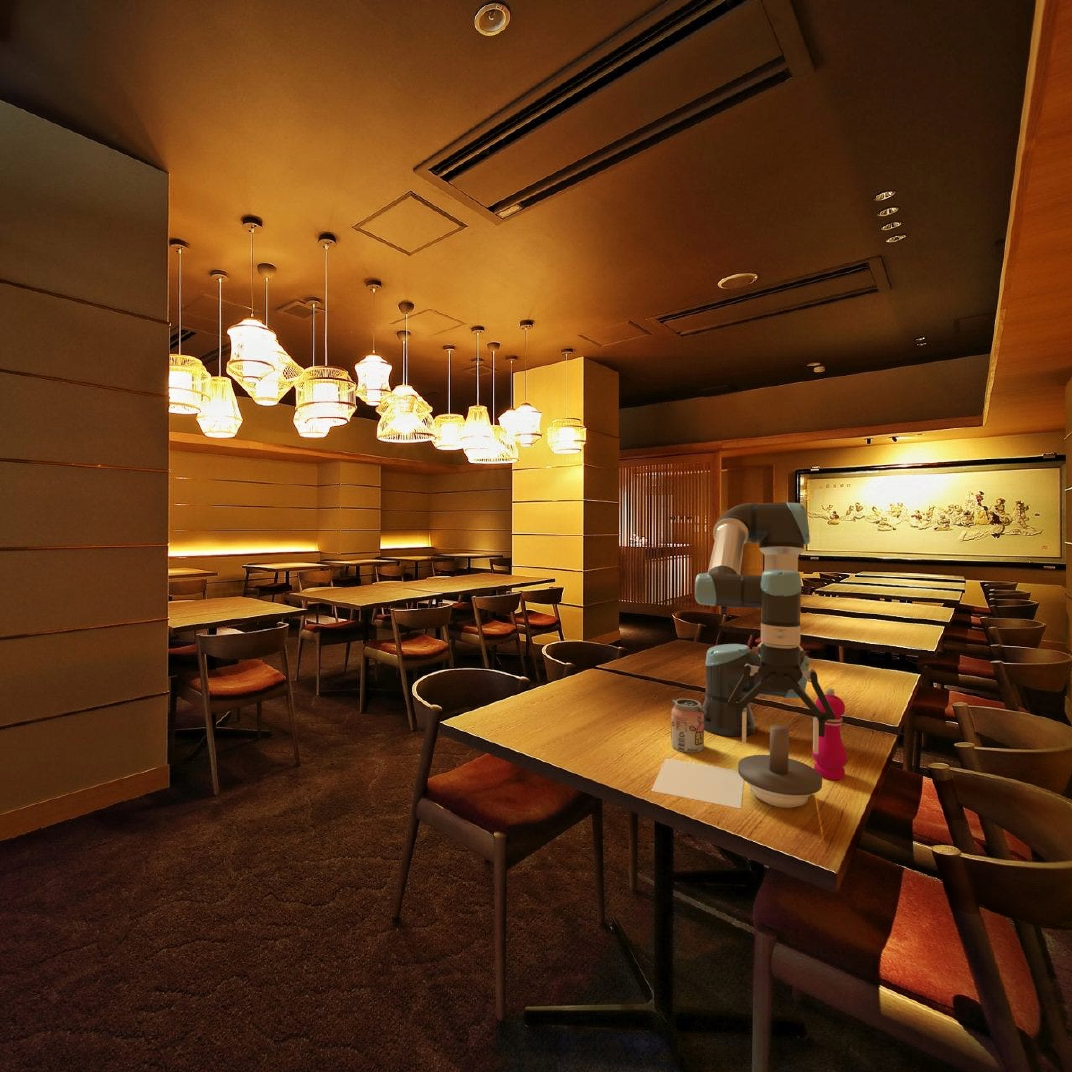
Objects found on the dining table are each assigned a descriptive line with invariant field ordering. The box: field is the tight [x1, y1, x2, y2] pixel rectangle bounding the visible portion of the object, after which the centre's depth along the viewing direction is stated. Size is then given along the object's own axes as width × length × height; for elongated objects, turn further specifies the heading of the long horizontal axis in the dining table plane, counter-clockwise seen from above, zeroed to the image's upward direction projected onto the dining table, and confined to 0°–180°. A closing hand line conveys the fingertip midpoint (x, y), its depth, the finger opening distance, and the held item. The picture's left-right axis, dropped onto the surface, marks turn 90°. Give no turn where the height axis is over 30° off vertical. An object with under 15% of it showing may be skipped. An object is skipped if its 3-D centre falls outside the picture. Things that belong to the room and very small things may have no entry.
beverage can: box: [670, 698, 707, 754], centre depth 139 cm, size 9×8×12 cm
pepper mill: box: [811, 687, 849, 781], centre depth 125 cm, size 7×7×20 cm
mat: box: [650, 758, 745, 810], centre depth 120 cm, size 18×18×1 cm
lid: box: [737, 724, 823, 795], centre depth 112 cm, size 16×16×10 cm
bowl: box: [746, 782, 813, 809], centre depth 113 cm, size 13×13×5 cm
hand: (779, 746), depth 112 cm, fingers open, 13 cm apart
